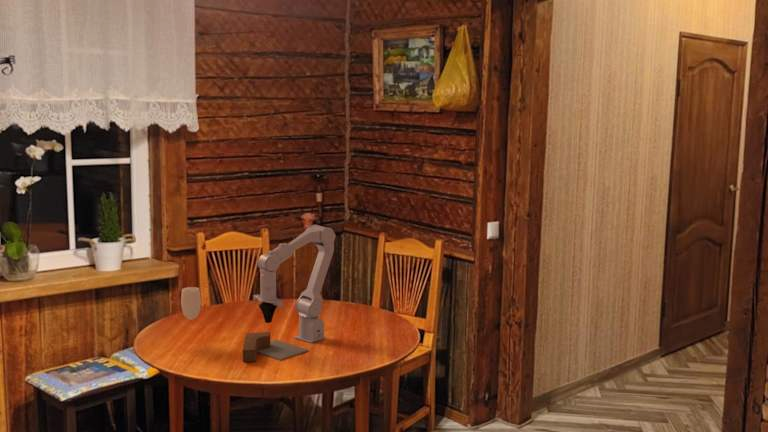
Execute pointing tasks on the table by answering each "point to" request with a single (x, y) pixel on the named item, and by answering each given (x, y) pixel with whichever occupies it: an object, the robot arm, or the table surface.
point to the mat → (281, 350)
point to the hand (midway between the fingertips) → (268, 322)
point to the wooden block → (254, 345)
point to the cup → (191, 302)
